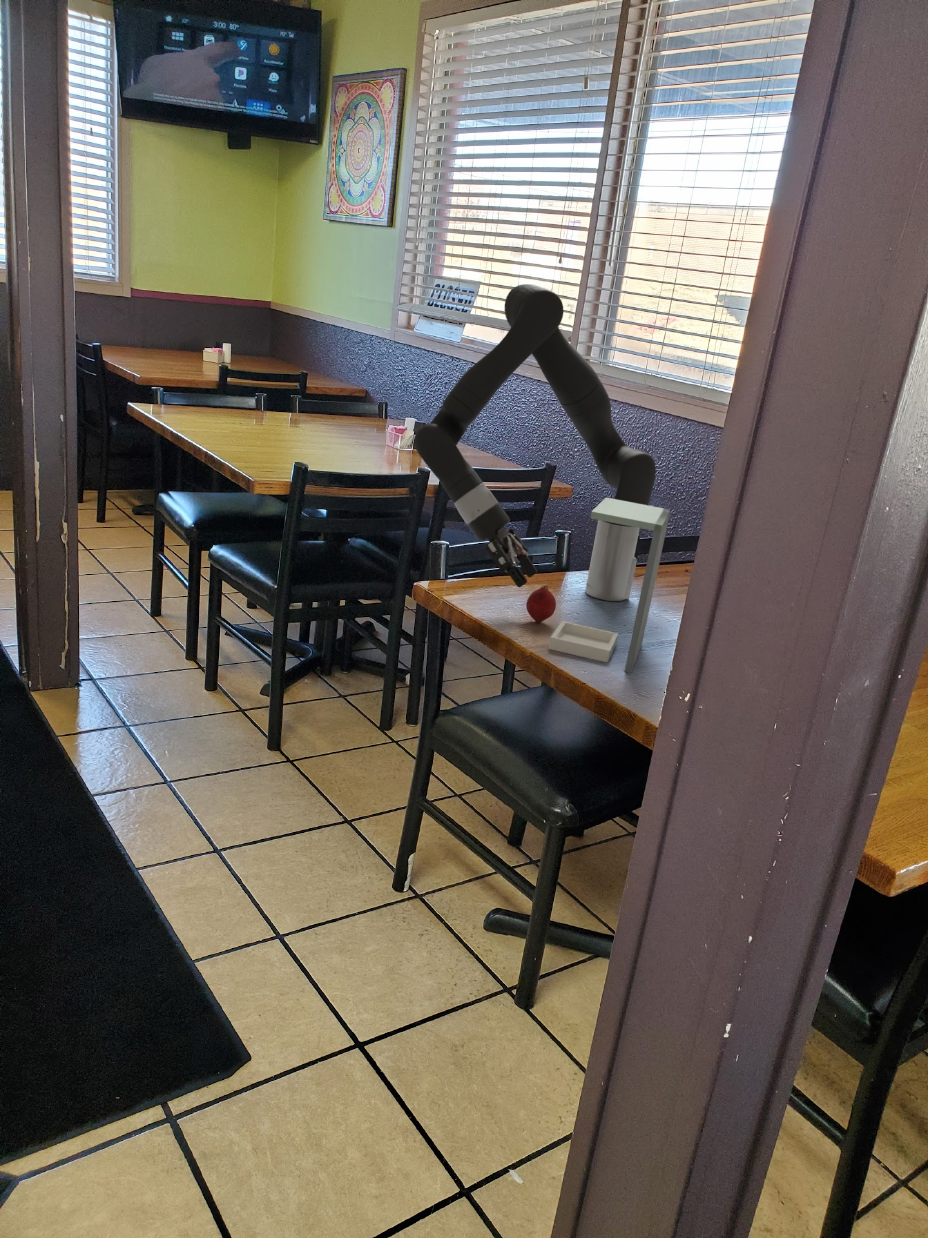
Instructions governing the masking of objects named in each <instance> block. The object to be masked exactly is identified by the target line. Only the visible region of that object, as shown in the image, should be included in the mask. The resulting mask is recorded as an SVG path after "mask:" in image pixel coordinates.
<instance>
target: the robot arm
mask: <svg viewBox="0 0 928 1238" xmlns="http://www.w3.org/2000/svg"><path fill="white" fill-rule="evenodd" d="M504 316H505V318H506V322H507V323H508V325H509V327H510V328H509V330H508V332H507V333H506V335H505V336H504V337H503V338H502V339H501V340H500V342H499V343H498V344H496V346H495V347H493V349H491V350H490V351H489V352H488V353H487V354H485V356H483V357H482V358H481V359H479V360H478V361H477V362H476V363H474V364H473V365H472V366H470V368H469V369H468V370H466V372H465V373H464V374H463V375H462V376H461V377H460V379H459V380H457V383H456V384H455V385H454V386H453V388H452V389H451V390H450V392H449V393H448V394H447V396H445V399H444V401H443V402H442V405H441V409H439V411H438V412H437V414H436V415H435V416H434V417H433V419H432V420H431V421H430V423H427V424H424V425H423V426H421V427H420V428H419V429H418V430H417V432H416V434H415V435H414V436H415V437H414V447H415V450H416V452H417V453H418V455H419V457H420V458H421V459H422V460H423V462H424V463H425V464H426V466H427V467H428V468H429V469H430V471H431V472H432V473H433V474H434V475H435V477H436V478H437V479H438V481H439V482H440V485H441V486H442V488H443V489H444V491H445V492H446V494H447V495H448V497H449V498H450V499H451V501H452V502H453V504H454V506H455V508H456V509H457V512H458V514H459V515H460V516H461V518H462V519H463V520H464V523H465V524H466V526H467V527H468V528H469V530H470V531H471V532H472V533H473V535H474V537H475V538H476V540H477V541H478V542H480V543H481V542H484V541H485V540H488V542H489V543H487V544H486V545H485V546H484V548H485V550H486V551H487V553H488V554H489V556H490V557H491V559H492V560H493V562H494V563H495V565H496V566H497V568H498V569H499V571H500V572H501V573H503V572H505V574H506V573H507V574H508V575H509V576H510V578H511V580H512V581H513V583H515V586H516V587H518V588H521V587H523V586H524V585H526V584H527V583H528V578H532V577H533V576H534V575H536V574H538V569H537V568H536V567H535V565H534V563H533V562H532V561H531V558H530V557H529V554H528V552H529V549H528V547H527V546H526V545H525V543H524V542H523V540H522V539H521V537H520V536H519V535H518V533H517V532H516V530H515V529H514V528H513V527H510V528H509V529H507V528H506V525H508V524H509V523H510V521H511V519H510V517H509V516H508V514H507V513H506V511H505V510H504V508H503V507H502V505H501V504H500V502H499V501H498V500H497V498H496V497H495V495H494V494H493V493H492V492H491V490H490V489H489V488H488V486H486V485H485V483H484V482H483V481H482V479H481V477H480V476H479V474H478V473H477V472H476V470H475V469H474V468H473V466H472V465H470V463H469V462H468V461H467V460H466V459H465V457H464V456H463V454H462V453H461V451H460V449H459V448H458V446H457V445H458V444H459V442H460V441H461V439H462V438H463V436H464V435H465V433H466V430H467V429H468V427H470V425H471V424H473V422H474V421H475V420H476V418H477V417H478V416H479V415H480V413H481V412H482V411H483V410H484V408H485V407H486V406H487V404H488V403H489V402H490V401H491V399H492V398H493V396H495V394H496V393H497V391H499V389H500V388H501V387H502V386H503V384H504V383H505V382H506V381H507V380H508V379H509V378H510V376H512V374H513V373H514V372H515V371H517V369H518V368H519V367H520V366H521V365H523V363H524V362H525V361H526V360H527V359H528V358H529V357H530V356H531V355H532V356H533V358H534V359H535V361H536V363H537V364H538V366H539V369H540V370H541V372H542V374H543V376H544V378H545V380H546V381H547V383H548V384H549V386H550V388H551V389H552V391H553V393H554V395H555V397H556V398H557V400H558V402H559V404H560V405H561V407H562V408H563V411H564V412H565V413H566V415H567V416H568V418H569V419H570V420H571V422H572V424H573V426H574V427H575V428H576V430H577V432H578V433H579V435H580V436H581V438H582V439H583V441H584V442H585V444H586V446H587V447H588V449H589V451H590V453H591V455H592V457H593V460H594V461H595V464H596V467H597V469H598V470H599V473H600V475H601V477H602V478H603V480H604V481H605V482H606V483H607V484H608V485H609V486H610V487H612V488H615V489H616V492H615V496H614V499H616V500H622V501H627V502H632V503H637V504H643V505H648V506H650V500H651V496H652V493H653V489H654V484H655V481H656V473H657V467H656V462H655V460H654V458H653V456H652V455H650V454H649V453H646V452H645V451H642V450H639V449H636V448H632V447H630V446H629V445H628V444H626V442H625V441H624V440H623V438H622V437H621V436H620V434H619V433H618V431H617V430H616V428H615V425H614V423H613V419H612V405H611V401H610V400H611V399H610V397H609V394H608V392H607V389H606V388H605V386H604V384H603V383H602V380H601V379H600V377H599V376H598V374H597V372H596V371H595V370H594V368H593V366H591V364H590V363H589V362H588V361H587V360H586V359H585V357H583V355H582V354H580V352H578V350H577V349H576V348H575V347H574V346H573V345H572V344H571V343H570V342H569V341H568V339H567V338H566V337H565V336H564V334H563V333H562V331H561V330H560V325H561V323H562V320H563V317H564V305H563V302H562V298H560V296H559V294H557V293H556V292H555V291H552V290H551V289H548V288H545V287H542V286H538V285H536V284H529V283H527V284H525V283H524V284H520V285H519V284H518V285H516V286H514V287H513V288H512V289H510V291H509V292H508V294H507V296H506V297H505V301H504ZM640 529H641V528H637V527H632V526H627V525H622V524H617V523H612V522H607V521H602V520H597V526H596V531H595V536H594V537H595V538H594V542H593V548H592V553H591V559H590V564H589V569H588V575H587V579H586V584H585V591H584V592H585V593H586V594H587V595H588V596H591V597H592V598H595V599H598V600H603V601H607V602H608V601H609V602H621V601H624V600H629V599H630V597H631V591H632V586H633V582H634V576H635V571H636V567H637V562H638V560H637V558H636V557H635V553H636V548H637V543H638V539H639V533H640ZM516 562H517V563H518V565H517V563H516ZM519 566H520V567H521V569H522V570H521V569H520V567H519ZM522 571H523V572H524V573H523V572H522ZM525 575H526V576H525ZM526 577H527V578H526Z"/></svg>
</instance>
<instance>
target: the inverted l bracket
mask: <svg viewBox="0 0 928 1238" xmlns="http://www.w3.org/2000/svg"><path fill="white" fill-rule="evenodd" d="M670 513H671V509H669V508H668V509H667V508H665V507H664V508H662V507H658V506H653V505H643V504H637V503H632V502H627V501H622V500H616V499H615V498H611V497H605V498H603V500H602V501H601V502H600V503H599V504H597V505H596V507H595V508H593V510H591V514H590V519H592V520H597V521H598V520H602V521H607V522H612V523H617V524H622V525H627V526H632V527H637V528H640V529H643V530H648V531H653V533H652V538H651V542H650V547H649V552H648V557H647V562H646V565H645V566H646V567H645V570H644V576H643V580H642V586H641V589H640V595H639V600H638V604H637V610H636V615H635V619H634V623H633V627H632V628H633V629H632V633H631V638H630V641H629V648H628V652H627V653H628V654H627V658H626V663H625V666H624V667H625V668H624V672H626V673H630V674H631V673H632V671H633V669H634V668H635V664H636V661H637V659H638V656H639V654H640V651H641V649H642V646H643V641H644V637H645V632H646V627H647V623H648V617H649V613H650V609H651V604H652V601H653V600H652V599H653V594H654V589H655V585H656V580H657V576H658V570H659V566H660V561H661V557H662V552H663V547H664V542H665V538H666V533H667V529H668V523H669V520H670V519H669V518H670V515H671V514H670Z"/></svg>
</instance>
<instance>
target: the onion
mask: <svg viewBox="0 0 928 1238" xmlns="http://www.w3.org/2000/svg"><path fill="white" fill-rule="evenodd" d="M548 588H549V585H548V584H546V583H544V584H542V586H541V587H540V588H538V589H536V590H533V592H531V594H530V595H529V596H528V598H527V599H526V611H527V613H528V615H529V616H530V617H531V619H532V620H533V621H534V622H536V623H538V624H541V623H542V622H544V621H546V620H547V619H549V618H551V617H552V616H553V615H554V613H555V610H556V607H557V601H556V598H555V596H554V594H553V593H552V592H551V591H550V590H549V589H548Z"/></svg>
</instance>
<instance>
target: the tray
mask: <svg viewBox="0 0 928 1238" xmlns="http://www.w3.org/2000/svg"><path fill="white" fill-rule="evenodd" d="M618 638H619V633H618V632H613V631H608V630H605V629H600V628H595V627H591V626H587V625H583V624H578V623H574V622H569V621H565V620H562V621H561V622H560V623H559V625H558V627H556V629H555V630H554V632H553V633H552V635H551V636H550V639H549V646H548V650H552V651H557V652H560V653H565V654H570V655H573V656H578V657H582V658H587V659H591V660H595V661H599V662H603V663H609V661H610V659H611V656H612V654H613V652H614V650H615V649H616V646H617V643H618Z"/></svg>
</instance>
